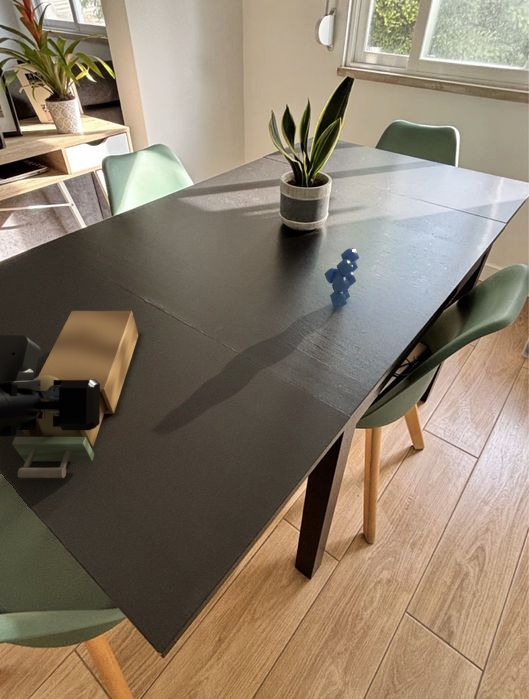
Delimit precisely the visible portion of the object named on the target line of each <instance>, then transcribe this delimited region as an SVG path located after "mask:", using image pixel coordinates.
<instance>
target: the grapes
mask: <svg viewBox="0 0 529 699" xmlns="http://www.w3.org/2000/svg"><path fill="white" fill-rule="evenodd" d="M340 257H341V259H342V260H341V261H340V262H339V263H337V265H336V267H331V268H329V269H328V270H326V272H325V273H324V277H325V280H326V281H327V283H328V284H330V285H331V287H332V290H333V292H332V293H331V294H330V295H329V297H330V300H331V301H330V302H331V303H332V306H333V307H334V309H336V310H339V309H341V308H343V307H344V306H345V305H347V303H348V302H347V300H348V299H349V298H350V297H351V295H350V292H349V289H350V287H351V286H352V285H354V284H355V283H356V282H357V279H356V275H355V274H354V272H356V270H358V268H359V266H358V263H357V261H358V260H359V259H360V256H359V253H358V250H356V249H355V248H354V247H349V248H347V249H346V250H344V251H343V252H342V253H341V254H340Z"/></svg>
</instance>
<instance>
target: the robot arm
mask: <svg viewBox="0 0 529 699" xmlns="http://www.w3.org/2000/svg"><path fill="white" fill-rule="evenodd" d="M41 352H42V350H41V347H40V346H39V345H38V344H36V342H34V341H32V340H31V339H30V338H28V337H27V336H26V335H23V334H0V437H1V438H3V437H4V438H5V437H7V438H8V437H14V436H15V437H16V436H17V434H18V433H17V431H23V430H34V429H36V419H44V418H45V411H42V412H41V410H49V412H53V427H61V429H62V430H91V429H94V428H96V427H97V426H98V425H99V424H100V383H99V382H98V381H97V380H96V379H74V380H53V385H52V386H50V387H49V389H48V390H47V391H39V390H40V385H41V380H34V379H35V375H36V372H37V367H38V362H39V358H40V355H41ZM40 398H41V399H43V398H44V399H46V398H47V399H49V400H41V399H40Z"/></svg>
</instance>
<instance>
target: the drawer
mask: <svg viewBox="0 0 529 699" xmlns="http://www.w3.org/2000/svg"><path fill="white" fill-rule="evenodd" d="M106 407H107V404H106V402H105V400H104V397H103V395H102V392H100V424H99V425H98V426H97V427H96V428H94V429H91V430H80V432H81V434H82V436H83V437H44V436H43V433H42V430H41V427H40V424H39V421H38V419H36V429H34V430H22V432H23V434H24V435H25V436H15V437H14V438H13V441H12V442H11V445H12V446H13V447H14V449H15V450H16V452H17V454H19V456H20V457H21V459H23V461H24V464H23V466H22V467H20V468H18V471H17V477H18V478H19V479H64V478H65V477H66V476H67V466H68V463H69V462H93V461H94V457H95V453H94V450H93V449H92V448H93V447H94V446H95V442H96V440H97V436H98V433H99V430H100V427H101V425H102V421H103V418H104V415H105V414H104V413H105V410H106ZM33 462H60V465H59V466H58V467H57V466H56V467H54V466H53V467H52V466H51V467H48V466H47V467H45V466H44V467H42V466H41V467H40V466H39V467H36V466H35V467H33V466H32V467H31V465H32V463H33Z"/></svg>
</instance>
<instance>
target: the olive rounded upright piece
mask: <svg viewBox="0 0 529 699" xmlns="http://www.w3.org/2000/svg"><path fill="white" fill-rule="evenodd" d="M34 380H41V385H40V390H39V391H47V390H48V389H49V387H50V386H52V385H53V380H59V379H58V378H56V377H53V376H40V377H38V376H37V377H34ZM40 399H41V398H40ZM41 400H49V399H47V398H46V399H44V398H43V399H41ZM42 411H45V418H44V419H38V421H39V424H40V427H41V430H42V433H43V436H44V437H83V436H82V434H81V432H80V430H62V429H61V427H53V412H49V410H41V412H42Z"/></svg>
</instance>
